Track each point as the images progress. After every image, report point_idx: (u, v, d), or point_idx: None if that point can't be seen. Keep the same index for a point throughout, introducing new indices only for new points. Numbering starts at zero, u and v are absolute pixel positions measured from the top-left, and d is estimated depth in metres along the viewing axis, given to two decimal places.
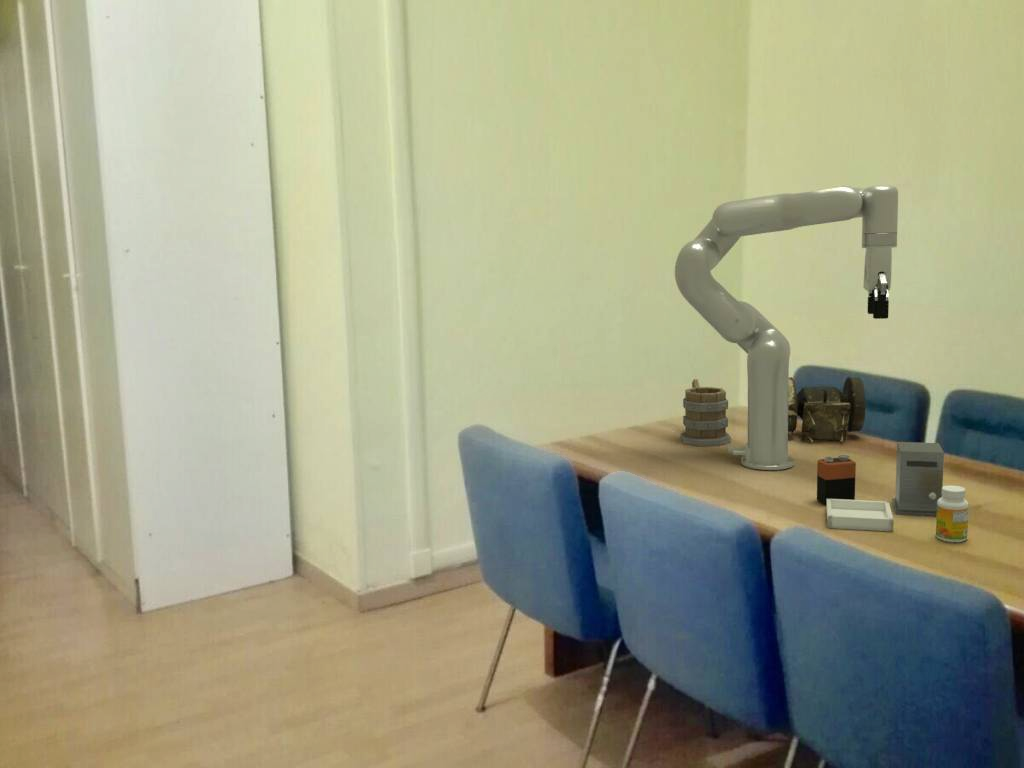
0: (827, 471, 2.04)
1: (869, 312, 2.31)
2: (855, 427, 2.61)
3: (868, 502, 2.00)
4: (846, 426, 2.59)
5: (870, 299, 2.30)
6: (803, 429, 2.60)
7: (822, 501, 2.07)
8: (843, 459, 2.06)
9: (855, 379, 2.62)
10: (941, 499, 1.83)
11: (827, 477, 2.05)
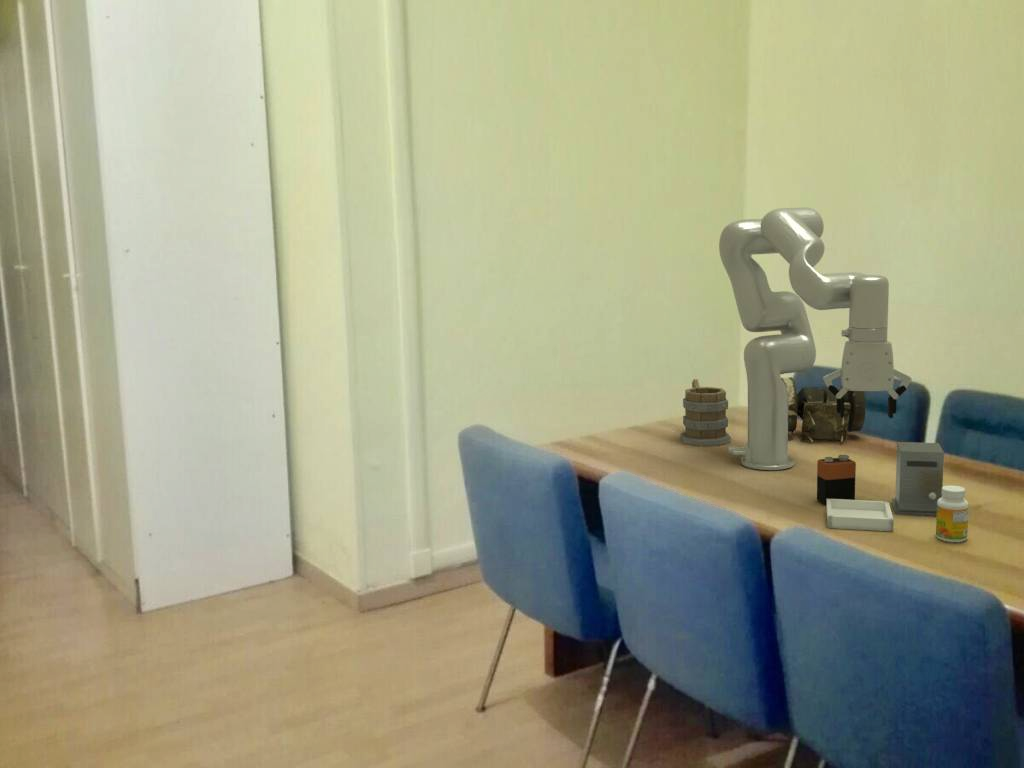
0: (827, 471, 2.04)
1: (843, 415, 2.06)
2: (855, 427, 2.61)
3: (868, 502, 2.00)
4: (846, 426, 2.59)
5: None
6: (803, 429, 2.60)
7: (822, 501, 2.07)
8: (843, 459, 2.06)
9: None
10: (941, 499, 1.83)
11: (827, 477, 2.05)
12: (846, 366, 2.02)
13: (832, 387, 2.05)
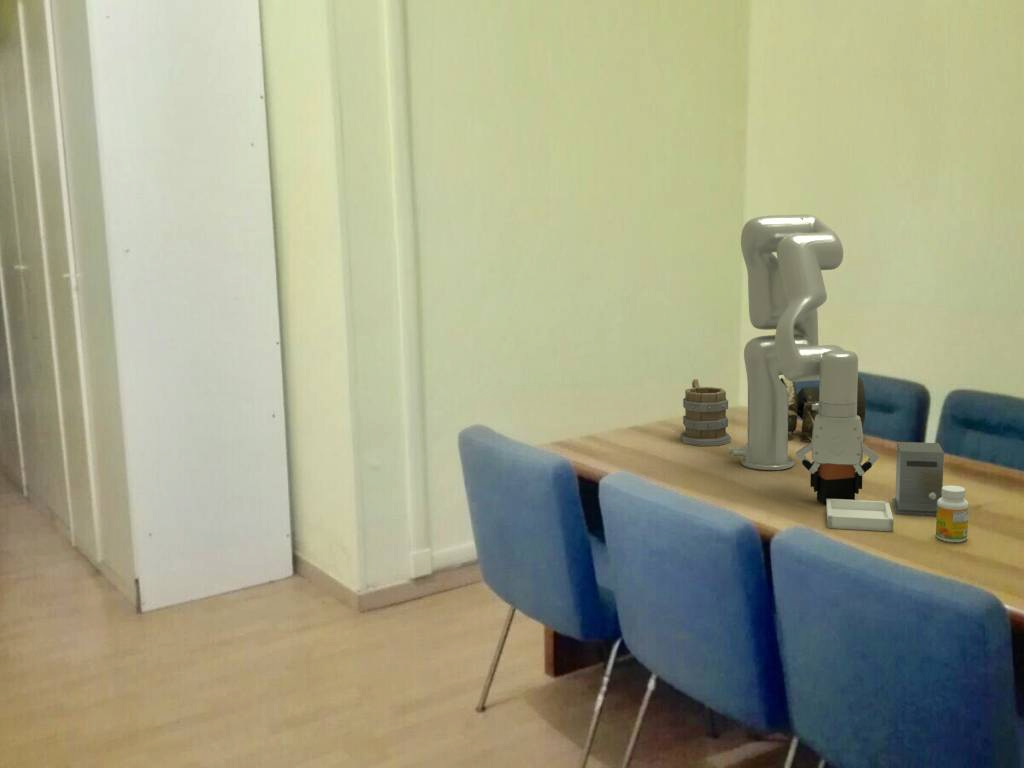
0: (827, 471, 2.04)
1: None
2: None
3: (868, 502, 2.00)
4: None
5: (817, 476, 2.07)
6: (803, 429, 2.60)
7: (822, 501, 2.07)
8: None
9: None
10: (941, 499, 1.83)
11: (827, 477, 2.05)
12: (815, 440, 2.05)
13: (806, 462, 2.08)
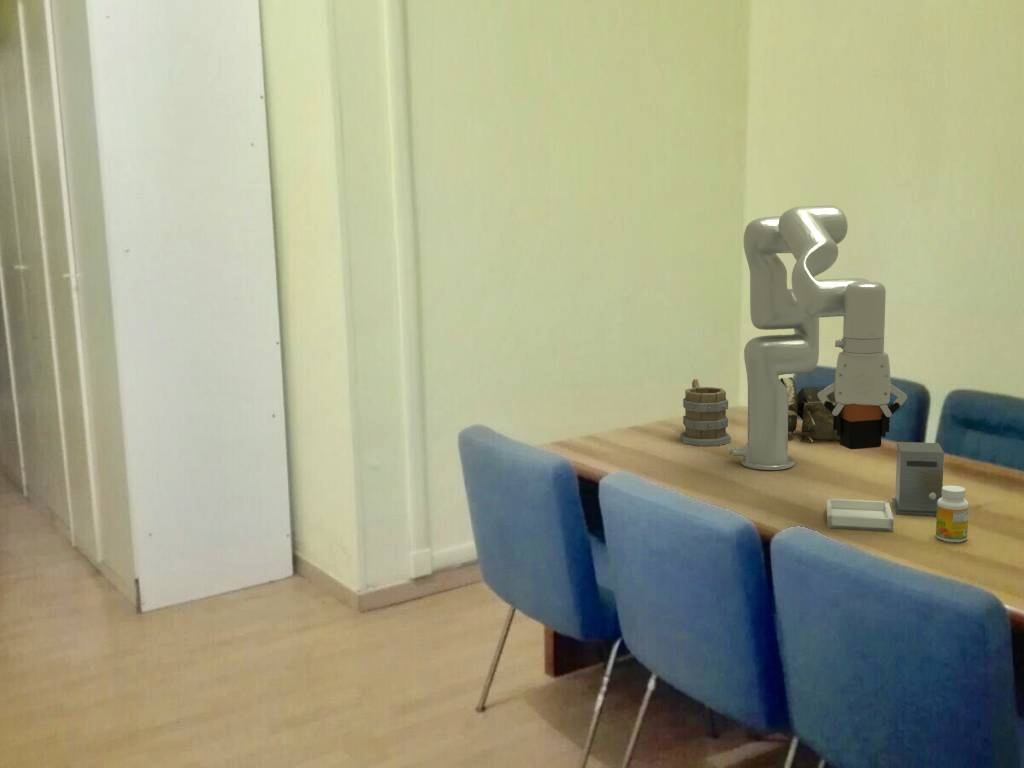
0: (852, 412, 1.89)
1: (840, 433, 1.93)
2: None
3: (868, 502, 2.00)
4: None
5: (840, 418, 1.92)
6: (803, 429, 2.60)
7: (846, 445, 1.92)
8: None
9: None
10: (941, 499, 1.83)
11: (851, 419, 1.90)
12: (839, 379, 1.90)
13: (828, 403, 1.93)
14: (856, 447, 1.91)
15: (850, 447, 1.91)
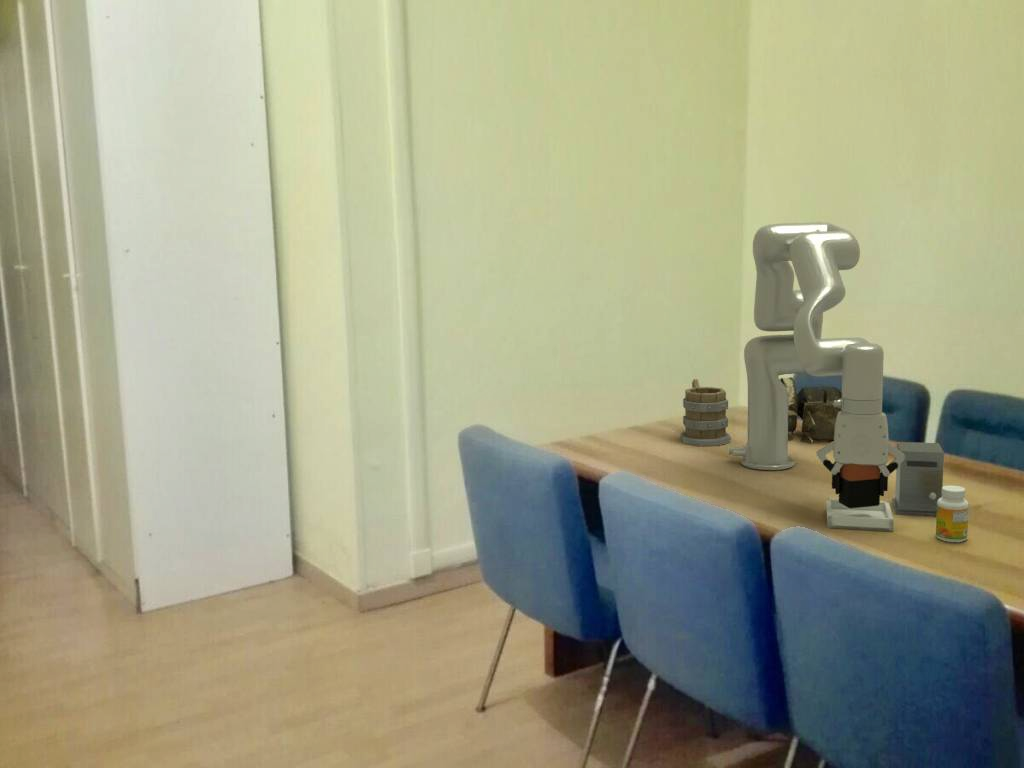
0: (851, 472, 1.91)
1: None
2: None
3: None
4: None
5: (839, 477, 1.94)
6: (803, 429, 2.60)
7: (845, 504, 1.94)
8: None
9: None
10: (941, 499, 1.83)
11: (850, 478, 1.92)
12: (838, 439, 1.92)
13: (827, 462, 1.95)
14: (855, 506, 1.93)
15: (849, 506, 1.93)
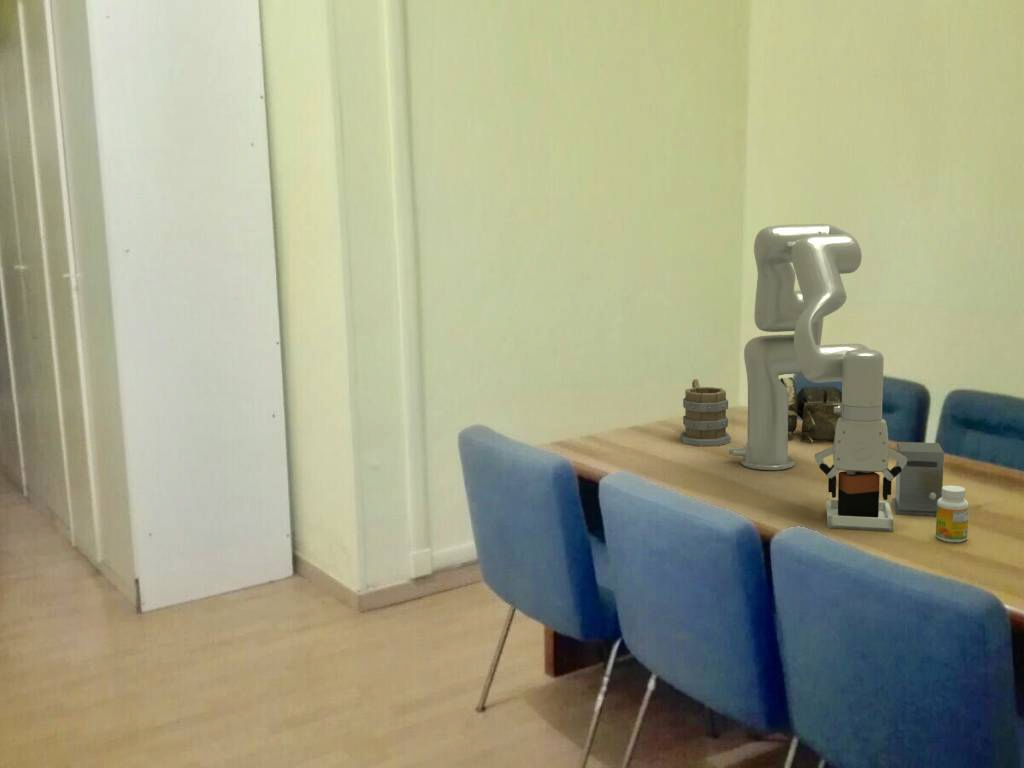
0: (850, 485, 1.92)
1: (835, 495, 1.95)
2: None
3: None
4: None
5: None
6: (803, 429, 2.60)
7: None
8: None
9: None
10: (941, 499, 1.83)
11: (849, 491, 1.92)
12: (838, 445, 1.92)
13: (823, 466, 1.95)
14: None
15: None
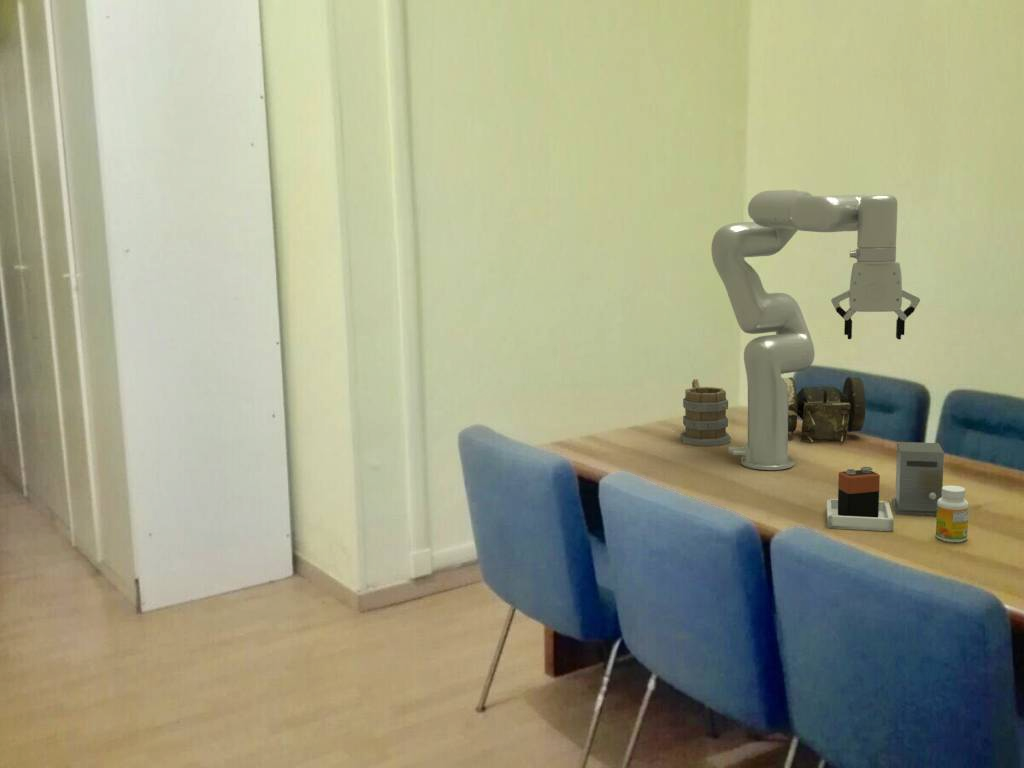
0: (850, 485, 1.92)
1: (851, 337, 2.05)
2: (855, 427, 2.61)
3: None
4: (846, 426, 2.59)
5: (851, 322, 2.05)
6: (803, 429, 2.60)
7: None
8: (866, 471, 1.94)
9: (855, 379, 2.62)
10: (941, 499, 1.83)
11: (849, 491, 1.92)
12: (854, 287, 2.02)
13: (840, 309, 2.05)
14: None
15: None
